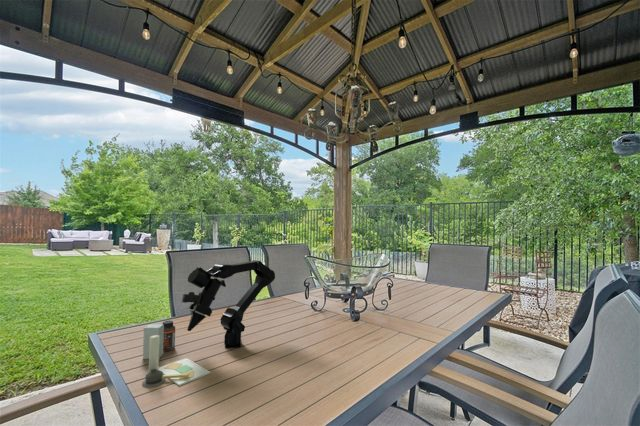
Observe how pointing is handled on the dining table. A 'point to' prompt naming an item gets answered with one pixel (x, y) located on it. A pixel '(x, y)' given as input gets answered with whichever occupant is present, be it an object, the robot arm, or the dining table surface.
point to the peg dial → (153, 371)
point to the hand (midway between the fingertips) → (188, 330)
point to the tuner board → (180, 372)
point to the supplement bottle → (169, 336)
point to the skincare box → (149, 332)
